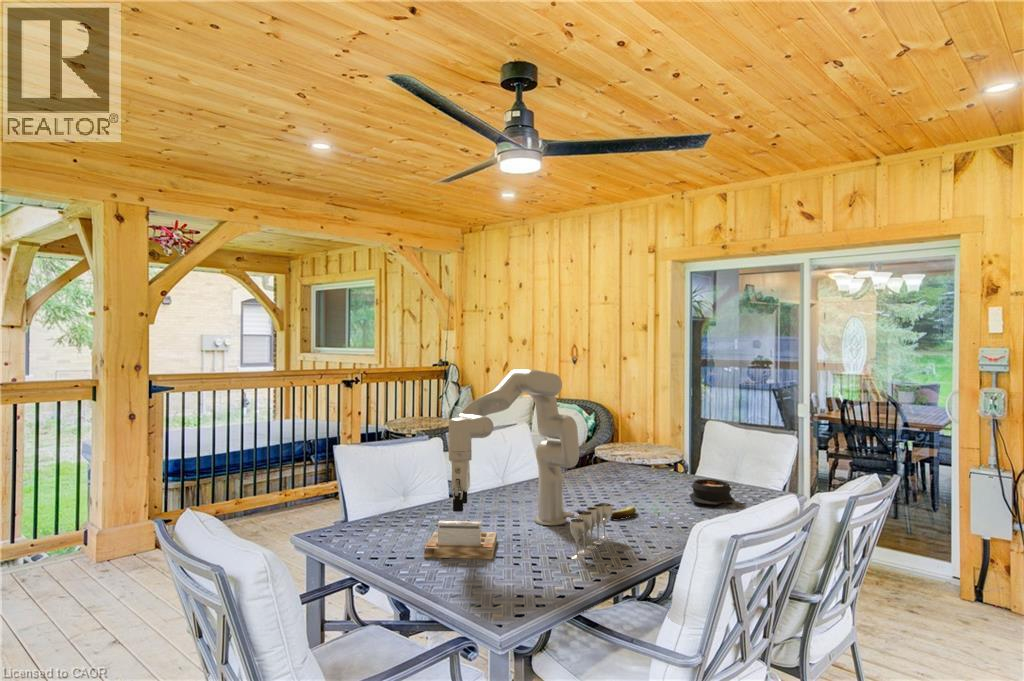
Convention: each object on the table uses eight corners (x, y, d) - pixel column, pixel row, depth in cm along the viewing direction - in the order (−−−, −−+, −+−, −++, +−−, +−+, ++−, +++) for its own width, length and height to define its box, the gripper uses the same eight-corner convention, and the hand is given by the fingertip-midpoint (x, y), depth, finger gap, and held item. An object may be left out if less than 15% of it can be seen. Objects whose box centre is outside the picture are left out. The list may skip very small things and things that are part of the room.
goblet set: (582, 561, 189) (582, 519, 189) (565, 557, 192) (566, 516, 192) (615, 537, 213) (615, 500, 213) (600, 534, 216) (600, 498, 216)
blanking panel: (481, 550, 195) (481, 521, 195) (480, 553, 193) (480, 524, 193) (439, 549, 196) (439, 520, 196) (437, 552, 194) (437, 523, 194)
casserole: (699, 493, 278) (699, 475, 279) (740, 499, 268) (740, 480, 268) (680, 504, 258) (680, 485, 258) (724, 511, 247) (724, 491, 247)
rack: (496, 540, 208) (496, 531, 208) (491, 559, 190) (491, 548, 190) (435, 539, 210) (435, 530, 210) (424, 557, 192) (424, 547, 192)
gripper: (467, 460, 186) (468, 515, 186) (474, 450, 203) (474, 500, 203) (444, 460, 186) (444, 514, 186) (453, 450, 204) (453, 500, 204)
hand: (460, 507), depth 195 cm, fingers open, 9 cm apart
